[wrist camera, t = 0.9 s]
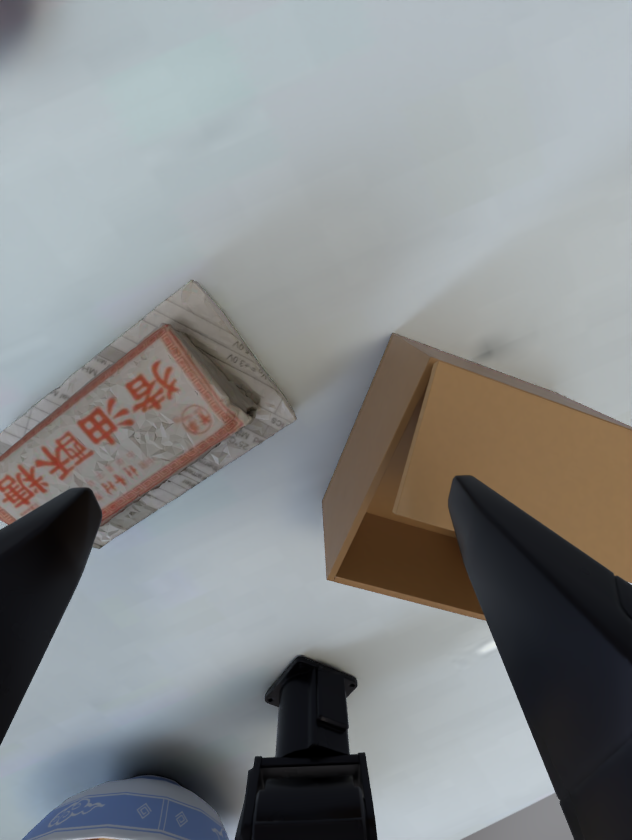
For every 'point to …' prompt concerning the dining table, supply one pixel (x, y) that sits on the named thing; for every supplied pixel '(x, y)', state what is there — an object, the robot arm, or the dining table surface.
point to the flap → (522, 462)
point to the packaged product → (144, 417)
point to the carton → (379, 483)
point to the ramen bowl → (132, 814)
